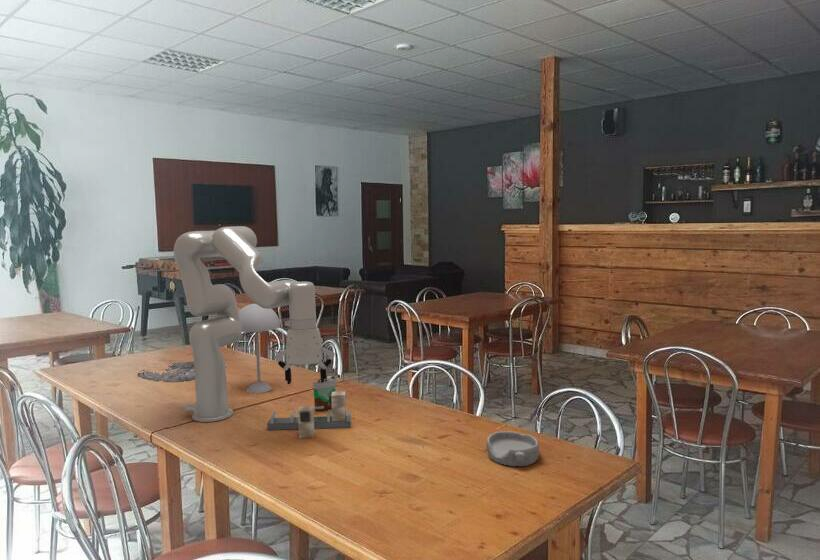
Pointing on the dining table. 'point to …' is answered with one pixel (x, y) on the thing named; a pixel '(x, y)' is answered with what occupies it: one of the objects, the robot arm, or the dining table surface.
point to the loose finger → (306, 421)
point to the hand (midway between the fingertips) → (306, 382)
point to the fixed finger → (338, 405)
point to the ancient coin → (182, 373)
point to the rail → (318, 422)
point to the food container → (324, 392)
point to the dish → (512, 448)
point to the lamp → (256, 322)
